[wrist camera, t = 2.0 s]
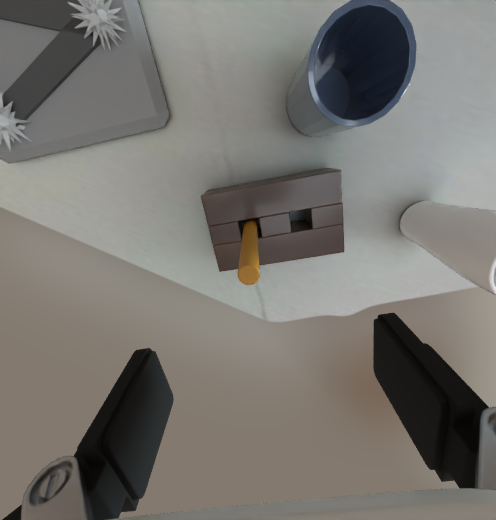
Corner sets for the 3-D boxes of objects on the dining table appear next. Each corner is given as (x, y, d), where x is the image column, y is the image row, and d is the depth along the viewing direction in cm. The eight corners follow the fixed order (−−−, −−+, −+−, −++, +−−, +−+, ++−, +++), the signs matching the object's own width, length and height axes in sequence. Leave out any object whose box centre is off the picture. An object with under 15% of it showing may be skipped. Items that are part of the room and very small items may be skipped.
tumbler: (282, 69, 27) (302, 11, 16) (350, 54, 27) (420, -17, 16) (290, 142, 30) (312, 135, 19) (352, 130, 29) (412, 115, 18)
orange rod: (243, 214, 34) (235, 266, 18) (255, 212, 33) (258, 263, 18) (245, 226, 34) (240, 286, 18) (257, 224, 34) (261, 283, 18)
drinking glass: (382, 233, 34) (470, 287, 20) (412, 185, 32) (535, 209, 18) (424, 251, 35) (536, 313, 21) (456, 205, 33) (607, 242, 19)
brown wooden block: (208, 190, 32) (200, 196, 28) (328, 167, 31) (341, 169, 26) (223, 257, 36) (219, 272, 31) (332, 239, 35) (344, 252, 30)
